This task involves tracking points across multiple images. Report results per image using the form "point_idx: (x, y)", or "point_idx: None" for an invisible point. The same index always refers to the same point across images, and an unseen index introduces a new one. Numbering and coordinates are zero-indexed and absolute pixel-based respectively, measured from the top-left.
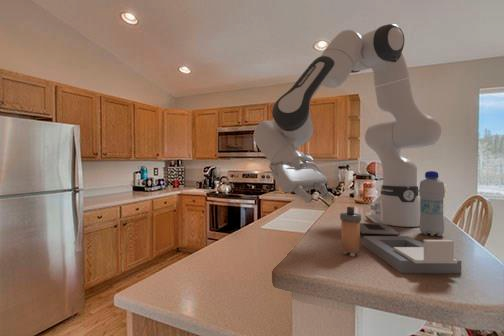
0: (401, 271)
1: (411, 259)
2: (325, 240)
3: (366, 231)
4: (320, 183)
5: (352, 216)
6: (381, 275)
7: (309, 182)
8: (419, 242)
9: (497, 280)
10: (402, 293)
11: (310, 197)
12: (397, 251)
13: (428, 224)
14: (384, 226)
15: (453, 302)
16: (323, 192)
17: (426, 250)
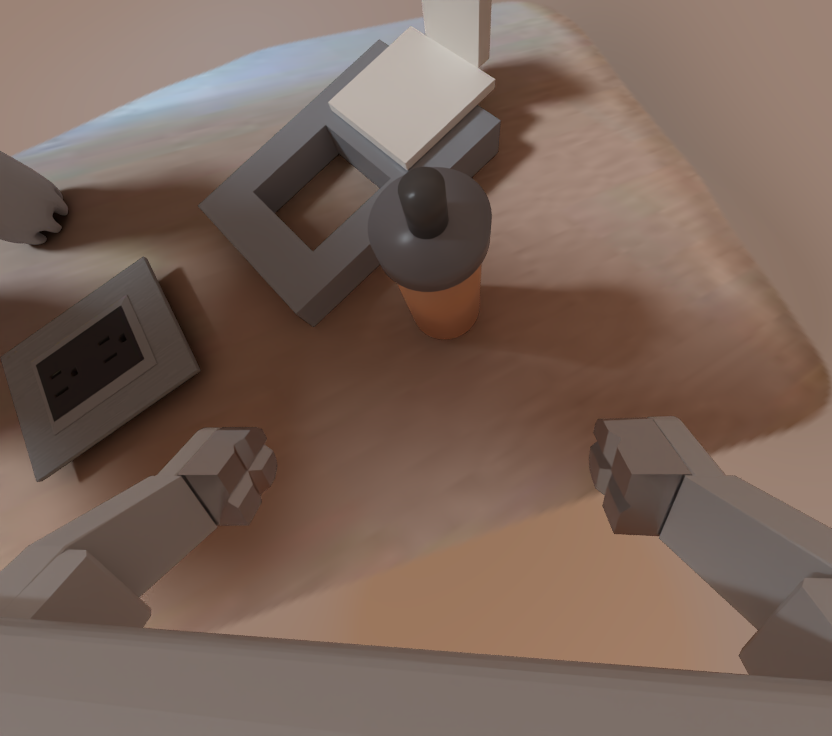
0: (497, 147)
1: (479, 99)
2: (348, 472)
3: (173, 360)
4: (36, 618)
5: (476, 186)
6: (555, 176)
7: (491, 657)
8: (259, 155)
9: (378, 28)
10: (627, 106)
11: (665, 423)
12: (424, 152)
13: (21, 189)
14: (49, 340)
15: (580, 39)
16: (230, 487)
17: (489, 19)
